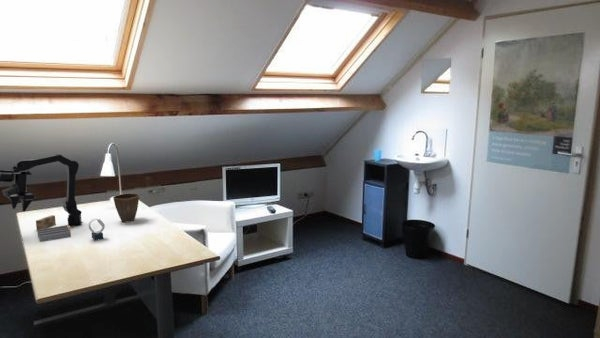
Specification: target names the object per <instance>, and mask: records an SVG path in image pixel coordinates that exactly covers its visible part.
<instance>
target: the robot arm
mask: <svg viewBox="0 0 600 338" xmlns="http://www.w3.org/2000/svg"><path fill="white" fill-rule="evenodd" d="M57 162H59V163H61V164H62V165H64V166H65V172H66V174H67V176H66V177H67V179H66V181H67V182H66V198H65V200H62V208H63V210H64V211H65V212H66V213H67V214H68V216H67V227H68V226H70V227H72V226H81V225H82V223H83V221H82V211H81V210H80V209H78V205H77V201H76V177H77V173H78V170H79V166H80V164H79V163H78V161H76V160H73V159H69V158H67V157H65V156H63V155H62V154H59V153H55V154H54V155H48V156H44V157H43V156H42V157H38V158H33V159H30V158H29V159H26V158H25V159H19V160H16V162H15V163H14V166H13V167H12V168H11V169H10V170H9V169H0V183H12V182H13V181H14V183H12V184H11V186H10V187H7V188H5V189H2V190H1V191H2V195H3V196H4V197H6V198H8V199H9V202H10V204H11V206H12V209H13V210H16V207H17V206H18V202H19V201H20V202H21V204H22V205H21V207H22V212H25V211H26V210H27V209H28V207H29V206H30V205H31V204H32V202H33V201H34V200H35V199H36V195H35V194H34V193H30V192H29V191H27V189H28V187H29V184H28V176H29V175H30V176H32V174H33V173H32V172H30V171H29V170H32V168H35V167H37V166H42V165H47V164H52V163H57Z"/></svg>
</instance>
